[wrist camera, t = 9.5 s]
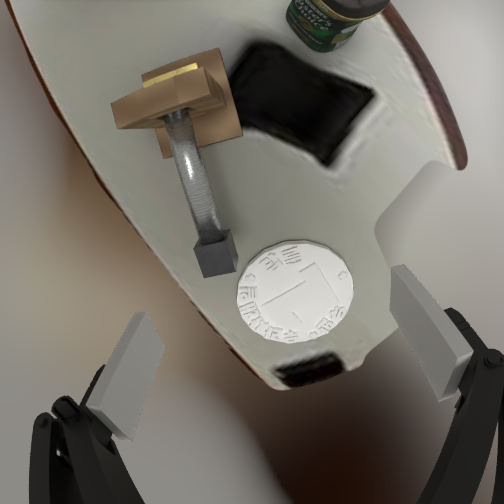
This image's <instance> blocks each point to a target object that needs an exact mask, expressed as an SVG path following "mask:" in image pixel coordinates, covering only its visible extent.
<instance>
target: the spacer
mask: <svg viewBox="0 0 504 504" xmlns="http://www.w3.org/2000/svg"><path fill="white" fill-rule="evenodd" d="M196 68H200V66H199V65H198V64H197V63H194V64H191V65H188V66H185V67H182V68H179V69H176V70H173V71H171V72H168V73H165V74H163V75H160V76H158V77H155V78H153V79H150V80H148V81H146V82H143V86H144V88H145V87H148V86H150V85H153V84H155V83H158V82H160V81H163V80H165V79H168V78H171V77H173V76H176V75H179V74H182V73H184V72H187V71H190V70H193V69H196Z"/></svg>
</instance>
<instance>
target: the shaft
mask: <svg viewBox="0 0 504 504" xmlns="http://www.w3.org/2000/svg"><path fill="white" fill-rule="evenodd" d="M162 117H163V120H164V124H165V128H166V131H167V135H168V138H169V142H170V145H171V149H172V152H173V156H174V159H175V163H176V166H177V169H178V173H179V176H180V179H181V183H182V186H183V189H184V192H185V196H186V199H187V202H188V205H189V208H190V211H191V214H192V218H193V221H194V224H195V227H196V230H197V233H198V236H199V239H198V241H197V243H196V245H195V247H194V248H193V249H194V251H195V254H196V257H197V260H198V263H199V265H200V268H201V271H202V274H203V276H204V278H207V277H212V276H217V275H222V274H227V273H232V272H236V268H237V263H238V254H237V251H236V247H235V244H234V241H233V237H232V234H231V230H230V229H228V230H224V231H223V228H222V225H221V222H220V218H219V215H218V212H217V208H216V205H215V202H214V198H213V195H212V191H211V188H210V184H209V181H208V178H207V174H206V171H205V167H204V164H203V160H202V157H201V153H200V150H199V146H198V143H197V139H196V135H195V132H194V128H193V125H192V121H191V117H190V114H189V110H188V107H185V108H182V109H179V110H176V111H174V112H171V113H168V114H165V115H163V116H162Z"/></svg>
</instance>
